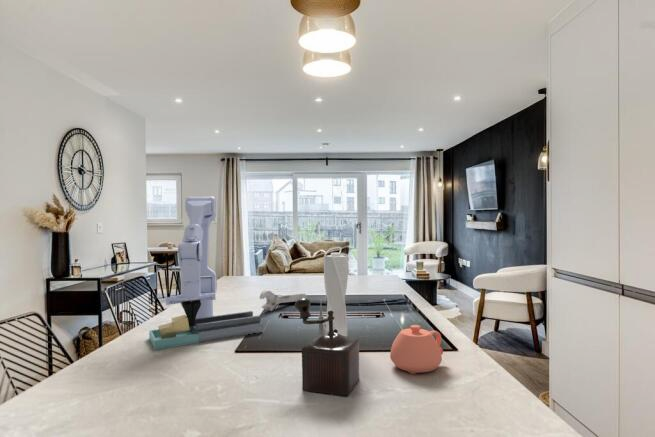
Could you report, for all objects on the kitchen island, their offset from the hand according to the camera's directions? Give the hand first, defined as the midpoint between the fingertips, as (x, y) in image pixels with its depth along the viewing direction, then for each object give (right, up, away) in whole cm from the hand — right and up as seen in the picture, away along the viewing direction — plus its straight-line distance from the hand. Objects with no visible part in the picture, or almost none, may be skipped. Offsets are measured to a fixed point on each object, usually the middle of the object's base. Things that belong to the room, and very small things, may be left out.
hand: (191, 325), depth 128 cm
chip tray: (-5, -4, -3) cm, 6 cm away
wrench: (+24, -3, +43) cm, 50 cm away
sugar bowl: (+64, -4, -25) cm, 69 cm away
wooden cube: (-2, -1, -2) cm, 3 cm away
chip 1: (-4, -1, -3) cm, 5 cm away
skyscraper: (+44, -4, -5) cm, 44 cm away
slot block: (+9, -4, +5) cm, 11 cm away
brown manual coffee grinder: (+40, -4, -34) cm, 53 cm away
